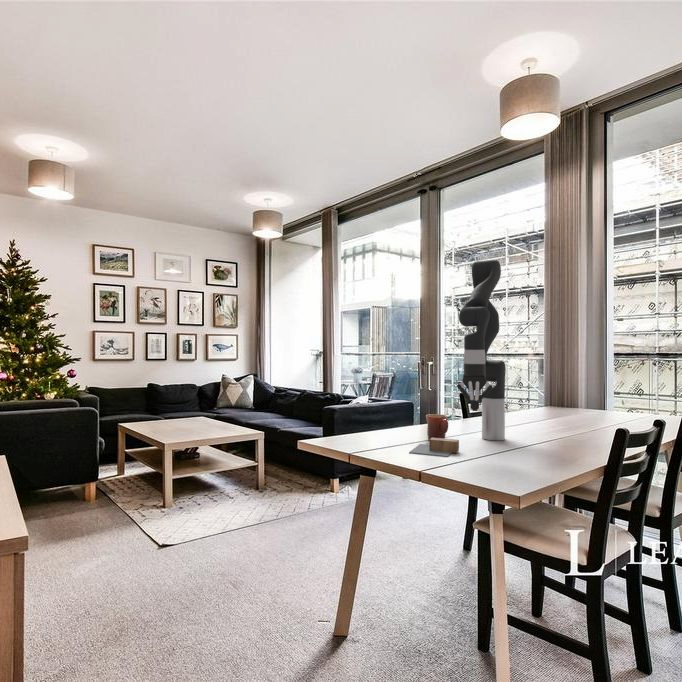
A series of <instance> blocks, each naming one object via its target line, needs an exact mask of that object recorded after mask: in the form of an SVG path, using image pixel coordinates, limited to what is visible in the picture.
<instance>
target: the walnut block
mask: <svg viewBox="0 0 682 682" xmlns="http://www.w3.org/2000/svg"><path fill="white" fill-rule="evenodd" d="M428 442H429V444H428V445H429V450H431V451H442V452H452V453H451V454H455V453H456V454H457V453H458V452H459V451H460V440H459V439H453V438H445V439H443V438H431V439H428Z"/></svg>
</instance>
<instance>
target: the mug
mask: <svg viewBox="0 0 682 682" xmlns="http://www.w3.org/2000/svg"><path fill="white" fill-rule="evenodd" d="M425 418H426V422H427V430H426V431H427V432H426V433H427V434H426V435H427V439H428V440H429V439H431V438H443V439H446V436H447V432H448V430H449V421H448V420H447V418H448V415H446V414H439V413H436V414H435V413H431V414H430V413H429V414H426V415H425Z"/></svg>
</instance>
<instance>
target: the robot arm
mask: <svg viewBox="0 0 682 682" xmlns="http://www.w3.org/2000/svg"><path fill="white" fill-rule="evenodd" d="M501 275H502V269H501V264H500V262H499V260H498V259H486V260H476V261H474V262H472V264H471V277H472V278H471V279H472V287H473V290H472V291H471V292H470V293H471V294H470V297H469V299H468V301H467V302H466V303H465V304H464V305H463V306H462V307H461V309H460V311H459V314H458V320H459V324H461V325H462V326H463V327H467V328H469V327H471V328H472V327H475V328H476V331H474V332H469V333H466V334H464V337H463V338H464V343H463V344H464V346H463V347H464V349H463V350H464V351H463V360H462V361H463V378H462V381H461V382H460V383H458V384H456V387H457V389H458V390H459V391H460V392H461V394H462V395H463V397H464V398H465V399H468V400H469V401H470V410H471V411H473V412H477V411H478V410H479V409H480V400H481V438H482V439H484V440H488V441H503V440H506V421H505V420H506V405H505V403H506V401H505V400H506V398H505V397H506V396H505V394H506V374H507V372H506V369H507V368H506V363H505V361H504V360H502V359H501V360H500V359H488V357H487V356H488V352H489V349H490V347H491V346H492V344H493V343H494V340H495V339H496V338H497V335H498V334H499V331H500V315H499V311H498V310H497V309H496V306H495V305H494V304H493V303H492V302H491V300H490V299H491V298H490V297H491V295H492V293H493V291H494V290H495V288H496V287H497V285H498V283H499V281H500V279H501ZM489 382H493V383H495V385H493V384H490V383H489ZM465 387H466V389H468V391H469V393H468V392H467V391H466V389H465ZM482 389H484V390H482ZM481 390H482V391H481Z"/></svg>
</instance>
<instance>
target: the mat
mask: <svg viewBox="0 0 682 682" xmlns="http://www.w3.org/2000/svg"><path fill="white" fill-rule="evenodd" d="M408 454H413V455H414V454H416V455H424V456H435V457H444V458H445V457H446V458H449V457H450V456H451V454H453V453H452V452H442V451H431V450H429V444H424V443H419V444H418V445H417V446H415V447H414V448H412V449H411V450H410V451H409V453H408Z"/></svg>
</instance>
